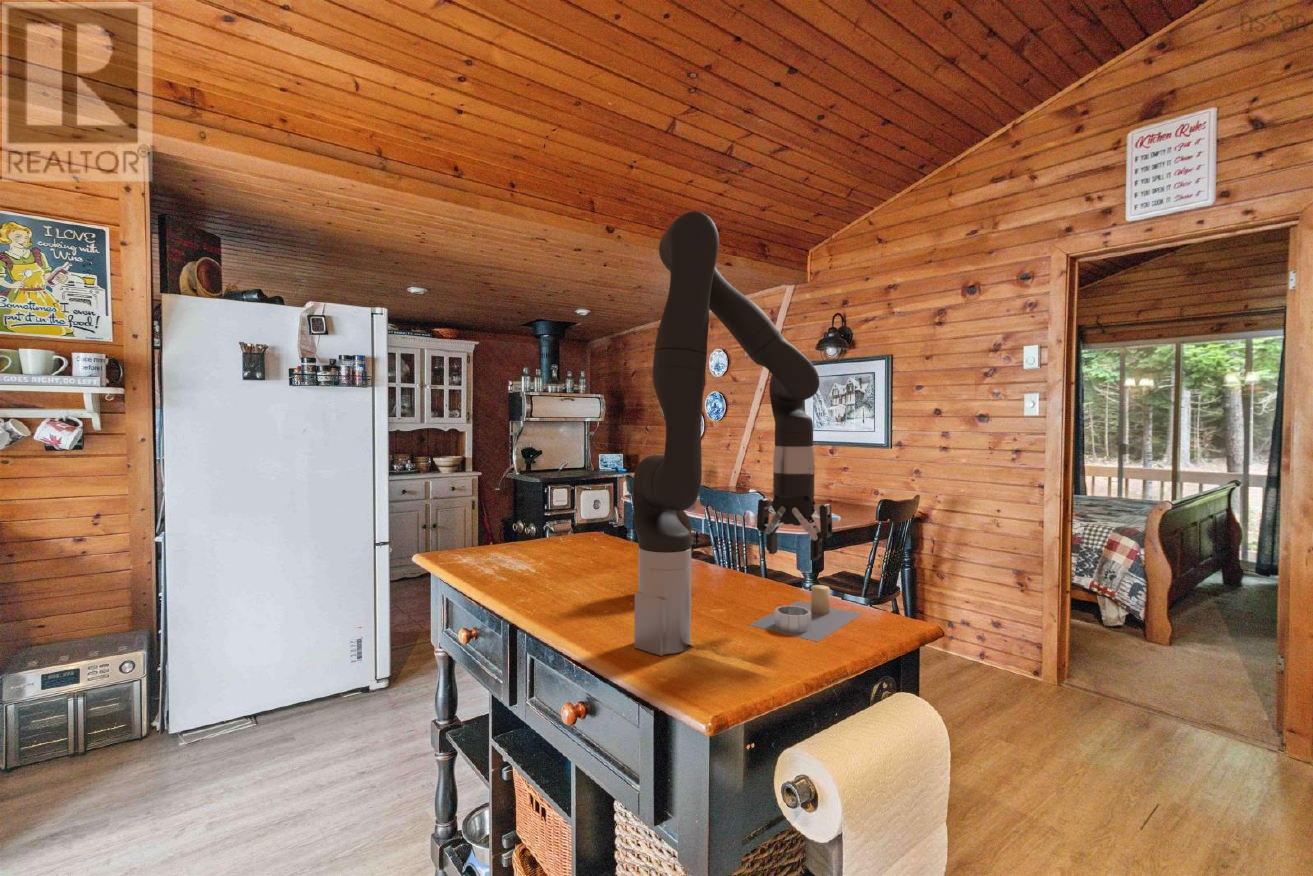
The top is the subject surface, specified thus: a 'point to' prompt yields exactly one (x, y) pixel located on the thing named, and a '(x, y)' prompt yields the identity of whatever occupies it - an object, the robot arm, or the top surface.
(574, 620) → the top surface
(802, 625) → the steel ring
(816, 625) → the fitting plate
